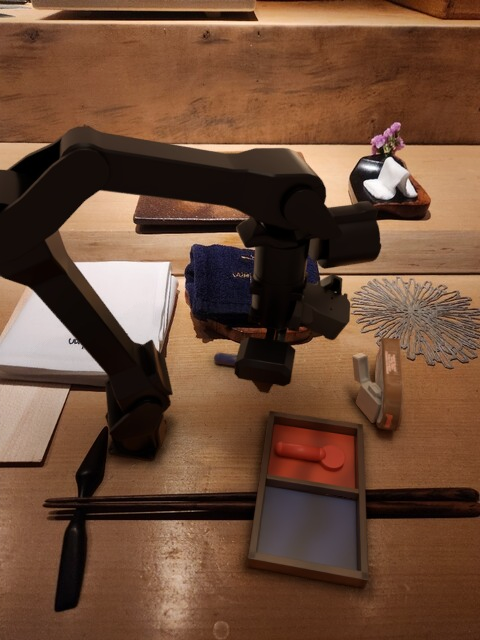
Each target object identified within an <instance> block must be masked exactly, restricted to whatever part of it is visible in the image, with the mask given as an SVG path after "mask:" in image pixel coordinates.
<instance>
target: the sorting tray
mask: <svg viewBox="0 0 480 640" xmlns="http://www.w3.org/2000/svg"><path fill="white" fill-rule="evenodd" d="M264 438H265V439H264V445H263V452H262V459H261V466H260V472H259V478H258V487H257V494H256V500H255V506H254V514H253V520H252V527H251V533H250V534H251V535H250V541H249V547H248V554H247V564H246V566H247V568H250V569H256V570H261V571H267V572H273V573H278V574H283V575H288V576H293V577H300V578H305V579H309V580H316V581H321V582H325V583H332V584H337V585H343V586H346V587H347V586H348V587H351V588H352V587H354V588H358V589H365V588H366V586H367V584H368V583H369V579H370V578H369V577H370V576H369V555H368V553H369V552H368V551H369V550H368V528H367V526H368V525H367V523H368V522H367V500H366V475H365V473H366V471H365V447H364V446H365V445H364V424H362V423H356V422H350V421H344V420H336V419H330V418H324V417H316V416H309V415H302V414H296V413H289V412H283V411H277V410H269V411H268V417H267V425H266V431H265V437H264ZM278 442H287V443H294V444H300V445H307V446H313V447H320V448H323V447H324V446H327V445H334V446H337V447H338V448H340V449H341V450H342V451H343V453H344V455H345V462H344V465H343V467H342V468H341V469H340V470H338V471H335V472H332V471H328V470H326V469H324V468H323V467H322V466H321V465H320V463H319V462H318V461H312V460H306V459H299V458H293V457H287V456H280V455H278V454H277V453H276V452H275V446H276V444H277V443H278ZM314 492H316V493H314ZM320 493H321V494H320ZM326 494H329V495H326ZM332 495H337V496H332ZM338 496H343V497H338ZM344 497H346V498H344ZM350 498H352V499H350Z"/></svg>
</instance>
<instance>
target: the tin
mask: <svg viewBox="0 0 480 640" xmlns="http://www.w3.org/2000/svg"><path fill="white" fill-rule="evenodd" d="M374 383H376V384H377V385H378V387H379V388H380V389H381V390H382V398H381V400H382V405H381V408H380V412H379V415H378V418H377V420H376V422H375V424H376V427H377V428H378V429H381V430H385V431H386V430H387V431H393V432H397V431H398V430H399V428H400V426H401V421H402V417H403V412H404V411H403V410H404V398H405V397H404V396H405V383H404V369H403V355H402V344H401V340H400V338H394V337H381V338H380V340H379V347H378V351H377V354H376V357H375V366H374Z"/></svg>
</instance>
